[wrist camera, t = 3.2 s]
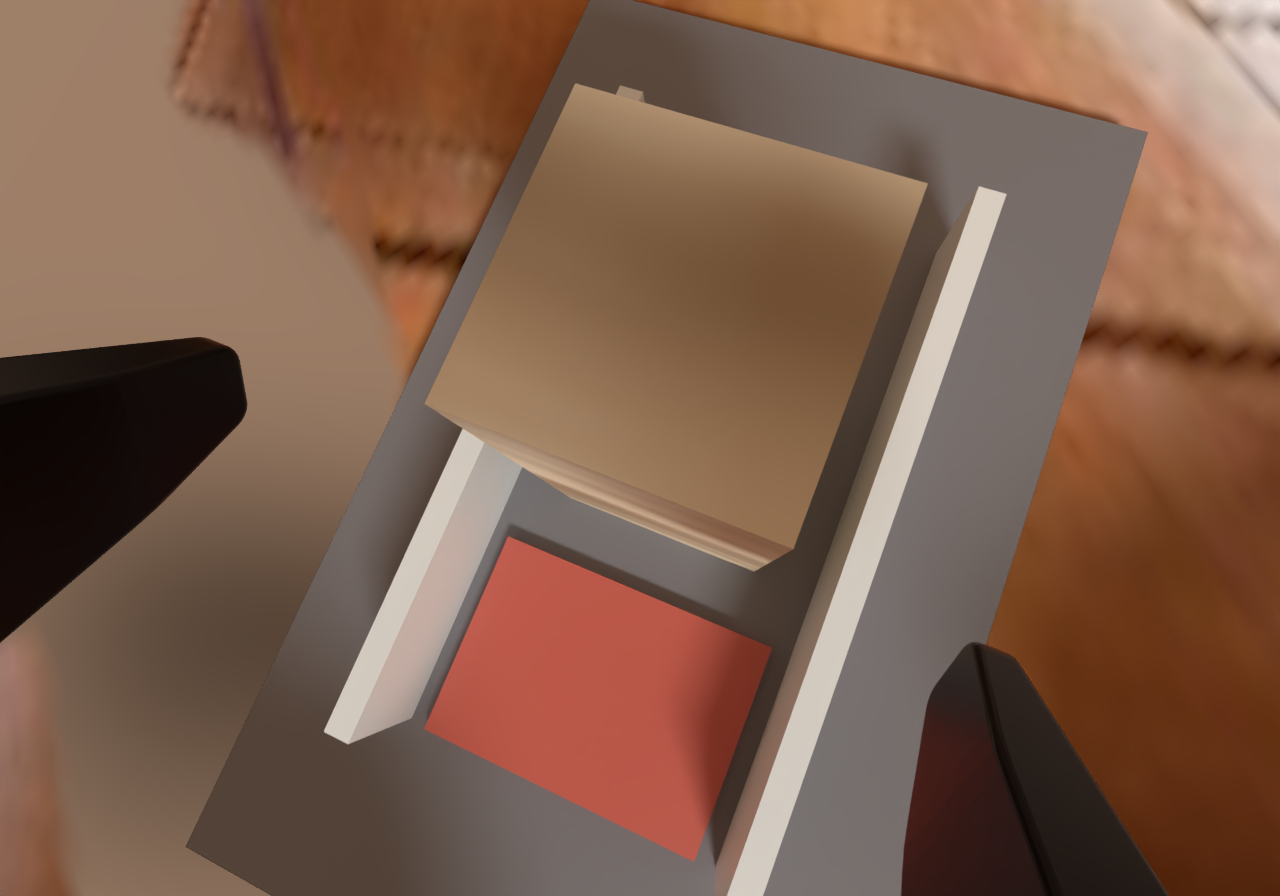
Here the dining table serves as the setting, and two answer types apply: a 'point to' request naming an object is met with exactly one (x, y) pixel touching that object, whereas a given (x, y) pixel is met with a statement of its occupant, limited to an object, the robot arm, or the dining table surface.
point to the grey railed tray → (689, 548)
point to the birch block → (679, 321)
